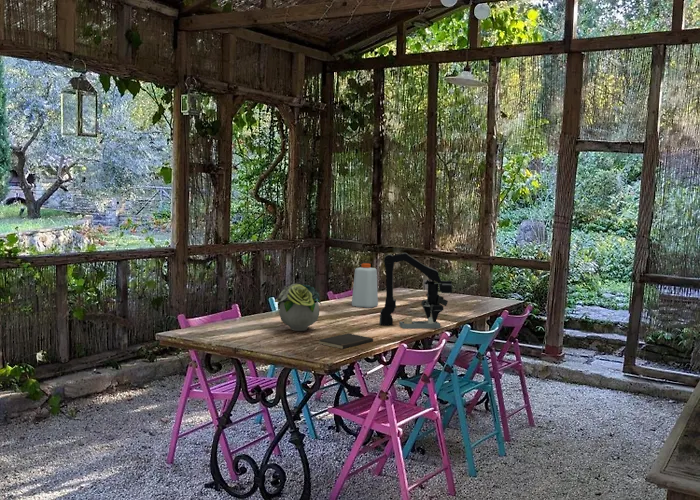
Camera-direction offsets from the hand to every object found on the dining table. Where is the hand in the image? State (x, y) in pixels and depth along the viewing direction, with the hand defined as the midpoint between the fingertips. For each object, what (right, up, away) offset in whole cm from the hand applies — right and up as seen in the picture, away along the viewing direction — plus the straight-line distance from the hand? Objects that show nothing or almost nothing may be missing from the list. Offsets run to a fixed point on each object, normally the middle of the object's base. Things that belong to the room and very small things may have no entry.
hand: (431, 320), depth 352 cm
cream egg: (0, -3, 0) cm, 3 cm away
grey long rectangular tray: (-7, -4, -1) cm, 8 cm away
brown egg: (-13, -3, -3) cm, 14 cm away
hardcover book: (-47, -7, -41) cm, 63 cm away
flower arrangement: (-72, -3, -13) cm, 73 cm away
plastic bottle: (-35, +2, +71) cm, 79 cm away
